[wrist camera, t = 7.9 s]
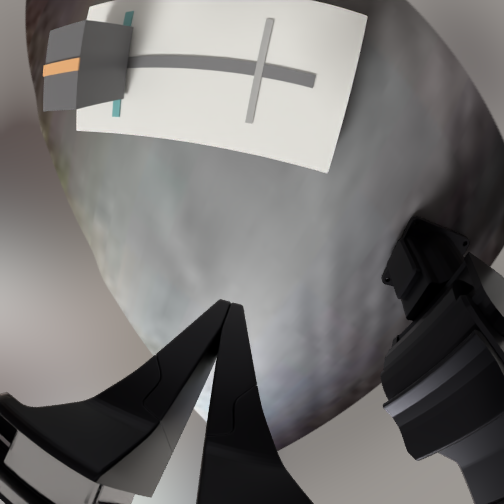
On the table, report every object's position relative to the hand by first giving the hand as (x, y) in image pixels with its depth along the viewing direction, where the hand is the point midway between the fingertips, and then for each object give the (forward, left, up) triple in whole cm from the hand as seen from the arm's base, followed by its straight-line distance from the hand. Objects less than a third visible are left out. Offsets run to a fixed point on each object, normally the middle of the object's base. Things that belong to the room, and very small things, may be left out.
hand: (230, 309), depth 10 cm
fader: (+12, -8, -9) cm, 17 cm away
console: (+6, -8, -12) cm, 16 cm away
